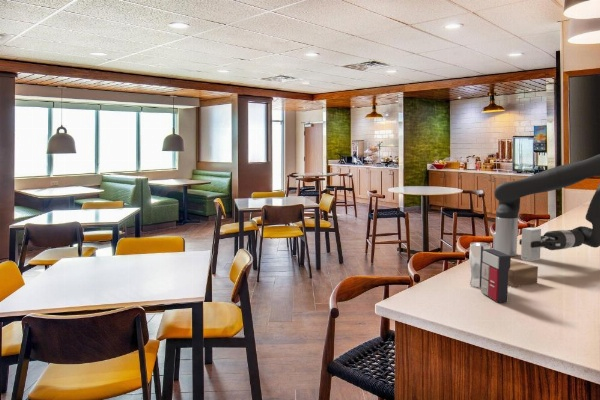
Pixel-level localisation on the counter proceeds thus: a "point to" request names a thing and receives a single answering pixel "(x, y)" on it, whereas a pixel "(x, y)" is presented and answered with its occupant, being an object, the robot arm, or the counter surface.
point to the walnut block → (522, 274)
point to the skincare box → (527, 238)
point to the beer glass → (476, 262)
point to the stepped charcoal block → (495, 274)
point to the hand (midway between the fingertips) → (525, 243)
